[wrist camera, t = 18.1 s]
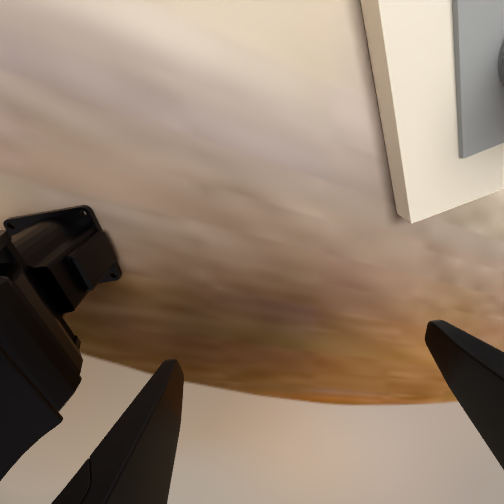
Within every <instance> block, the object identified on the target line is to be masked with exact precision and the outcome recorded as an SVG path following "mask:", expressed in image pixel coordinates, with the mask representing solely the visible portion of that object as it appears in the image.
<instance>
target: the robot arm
mask: <svg viewBox="0 0 504 504" xmlns="http://www.w3.org/2000/svg"><path fill="white" fill-rule="evenodd" d="M82 210H83V211H85V212H86V214H87V215H85V214H83V213H82ZM11 223H12V224H13V225H14V226H15V227H14V226H13V225H12V224H11ZM3 225H4V227H5V229H6V230H1V231H0V481H1V479H2V478H3V477H4V476H5V475H6V473H7V472H8V471H9V470H10V468H11V467H12V466H13V465H14V464H15V463H16V462H17V460H18V459H19V458H20V457H21V456H22V455H23V454H24V453H25V452H26V451H27V450H28V449H29V448H30V447H31V446H32V445H33V444H35V443H36V442H37V441H38V440H39V439H40V438H41V437H42V436H44V435H45V434H46V433H48V432H49V431H50V430H52V429H53V428H54V427H56V426H57V425H58V424H60V423H61V422H62V420H63V417H62V416H61V415H60V414H59V411H60V410H61V408H62V407H63V406H64V405H65V403H66V402H67V401H68V400H69V399H70V397H71V396H72V395H73V394H74V392H75V391H76V389H77V387H78V385H79V384H80V382H81V379H82V378H81V376H80V372H81V367H82V362H83V359H82V356H81V354H80V351H79V348H80V344H81V341H80V340H79V338H78V337H77V336H75V335H74V334H73V332H72V331H71V329H70V328H69V326H68V325H67V323H66V322H65V321H64V319H63V318H62V317H63V316H64V315H65V314H66V313H67V312H72V311H74V310H75V309H76V307H77V306H78V305H79V304H80V302H81V301H82V300H83V298H84V297H85V296H86V295H87V293H88V292H89V291H92V290H93V289H94V288H95V287H96V285H97V284H98V283H103V282H109V281H115V280H118V279H119V278H120V277H121V275H122V273H121V270H120V268H119V266H118V264H117V262H116V257H115V255H114V253H113V251H112V248H111V246H110V244H109V242H108V240H107V238H106V236H105V234H104V232H103V231H102V230H101V228H100V226H99V224H98V222H97V220H96V218H95V216H94V214H93V211H92V210H91V208H90V207H88V206H86V205H81V206H75V207H70V208H64V209H58V210H52V211H47V212H41V213H35V214H29V215H24V216H18V217H12V218H9V219H7V220H5V221H4V224H3ZM113 273H115V274H116V275H114V274H113ZM425 342H426V345H427V347H428V349H429V351H430V352H431V354H432V356H433V358H434V360H435V362H436V364H437V366H438V368H439V369H440V371H441V373H442V375H443V377H444V379H445V381H446V382H447V384H448V386H449V388H450V389H451V391H452V392H453V394H454V395H455V397H456V398H457V400H458V401H459V403H460V404H461V406H462V407H463V409H464V411H465V412H466V414H467V415H468V417H469V418H470V420H471V421H472V423H473V424H474V426H475V427H476V429H477V430H478V432H479V433H480V435H481V436H482V438H483V439H484V441H485V442H486V444H487V445H488V447H489V448H490V450H491V451H492V453H493V454H494V456H495V457H496V459H497V460H498V462H499V463H500V465H501V466H502V468H503V469H504V352H502V351H501V350H499V349H497V348H495V347H493V346H491V345H489V344H487V343H485V342H484V341H482V340H480V339H478V338H476V337H474V336H472V335H470V334H468V333H466V332H465V331H463V330H461V329H459V328H457V327H455V326H453V325H451V324H449V323H447V322H446V321H443V320H434V321H429V323H428V325H427V329H426V334H425ZM183 384H184V375H183V371H182V369H181V367H180V365H179V362H178V360H177V359H168V360H165V361H164V362H163V363H162V364H161V366H160V367H159V368H158V370H157V371H156V372H155V373H154V375H153V376H152V377H151V379H150V380H149V381H148V382H147V384H146V385H145V386H144V387H143V389H142V390H141V391H140V393H139V394H138V395H137V396H136V398H135V399H134V400H133V402H132V403H131V404H130V405H129V407H128V408H127V409H126V411H125V412H124V413H123V414H122V416H121V417H120V418H119V420H118V421H117V422H116V423H115V425H114V426H113V427H112V428H111V430H110V431H109V432H108V434H107V435H106V436H105V437H104V439H103V440H102V441H101V443H100V444H99V446H98V447H97V448H96V449H95V450H94V452H93V453H92V454H91V455H90V459H87V460H86V462H85V463H84V464H83V466H82V467H81V468H80V469H79V471H78V472H77V473H76V474H75V476H74V477H73V478H72V479H71V481H70V482H69V483H68V484H67V486H66V487H65V488H64V489H63V491H62V492H61V493H60V494H59V495H58V496H57V498H56V499H55V500H54V501H53V502H52V504H167V500H168V494H169V488H170V482H171V477H172V471H173V465H174V460H175V454H176V448H177V442H178V437H179V431H180V424H181V412H182V398H183Z"/></svg>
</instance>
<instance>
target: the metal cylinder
mask: <svg viewBox="0 0 504 504" xmlns="http://www.w3.org/2000/svg"><path fill="white" fill-rule="evenodd" d="M498 73H499V78H500V81H501V83H502V85H503V87H504V40H503V42H502V46H501V49H500V53H499V58H498Z"/></svg>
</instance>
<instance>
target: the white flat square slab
mask: <svg viewBox="0 0 504 504" xmlns="http://www.w3.org/2000/svg"><path fill="white" fill-rule="evenodd" d="M360 1H361V7H362V13H363V18H364V24H365V30H366V36H367V42H368V47H369V53H370V59H371V65H372V71H373V76H374V82H375V88H376V94H377V100H378V105H379V111H380V117H381V123H382V129H383V134H384V140H385V146H386V152H387V158H388V163H389V169H390V175H391V181H392V187H393V192H394V198H395V204H396V210H397V214H398V215H400V216H401V217H402V218H404V219H405V220H407V221H408V222H409V223H411V224H412V223H415V222H417V221H420V220H423V219H425V218H428V217H431V216H433V215H436V214H439V213H441V212H444V211H447V210H449V209H452V208H454V207H457V206H460V205H462V204H465V203H468V202H470V201H473V200H476V199H478V198H481V197H484V196H486V195H489V194H492V193H494V192H497V191H500V190H502V189H504V87H503V85H502V83H501V81H500V78H499V73H498V58H499V53H500V49H501V46H502V42H503V40H504V0H360Z"/></svg>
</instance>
